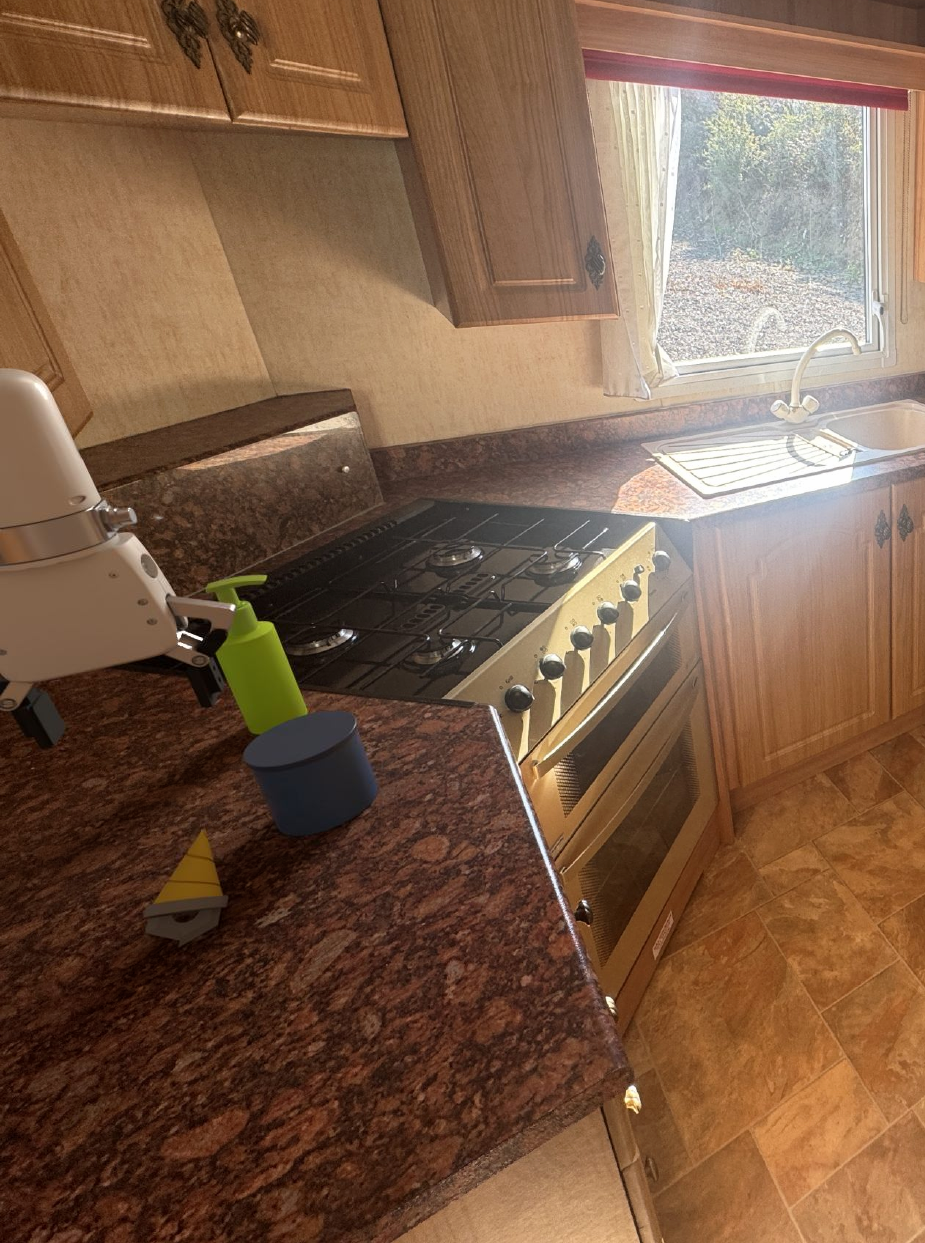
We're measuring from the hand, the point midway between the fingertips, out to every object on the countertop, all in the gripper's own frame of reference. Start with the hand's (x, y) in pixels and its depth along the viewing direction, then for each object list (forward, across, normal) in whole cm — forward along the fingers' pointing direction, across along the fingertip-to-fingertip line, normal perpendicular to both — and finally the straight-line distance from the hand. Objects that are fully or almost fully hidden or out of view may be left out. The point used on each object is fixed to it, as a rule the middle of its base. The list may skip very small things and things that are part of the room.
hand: (136, 719), depth 63 cm
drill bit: (+20, +2, +2) cm, 21 cm away
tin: (+20, -8, -9) cm, 23 cm away
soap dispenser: (+20, -2, -32) cm, 38 cm away
